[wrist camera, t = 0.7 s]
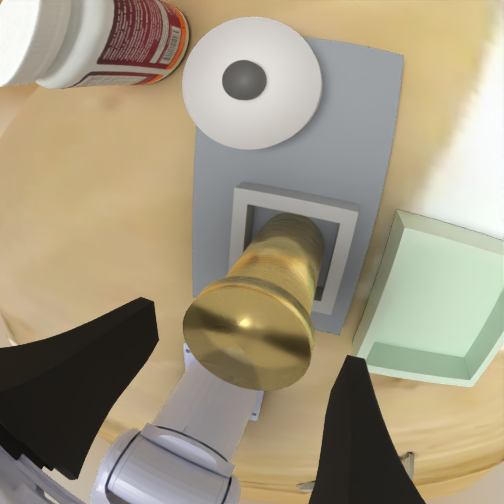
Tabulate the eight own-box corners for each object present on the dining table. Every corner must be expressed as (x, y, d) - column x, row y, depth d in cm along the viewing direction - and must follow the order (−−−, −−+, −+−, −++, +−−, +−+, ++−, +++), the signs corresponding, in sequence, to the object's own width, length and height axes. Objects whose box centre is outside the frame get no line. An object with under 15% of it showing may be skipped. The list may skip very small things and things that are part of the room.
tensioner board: (340, 324, 21) (336, 361, 18) (199, 289, 23) (176, 317, 20) (400, 51, 12) (414, 36, 9) (213, 31, 15) (182, 17, 11)
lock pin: (322, 286, 19) (295, 402, 11) (249, 269, 20) (186, 369, 12) (338, 215, 17) (325, 313, 9) (256, 198, 18) (179, 275, 10)
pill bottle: (167, -11, 14) (35, -55, 4) (208, 48, 15) (63, 12, 6) (107, 44, 17) (-25, 44, 7) (140, 102, 18) (-5, 126, 8)
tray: (465, 360, 19) (472, 386, 17) (352, 340, 21) (350, 368, 19) (523, 248, 14) (542, 269, 12) (396, 209, 16) (404, 227, 14)
